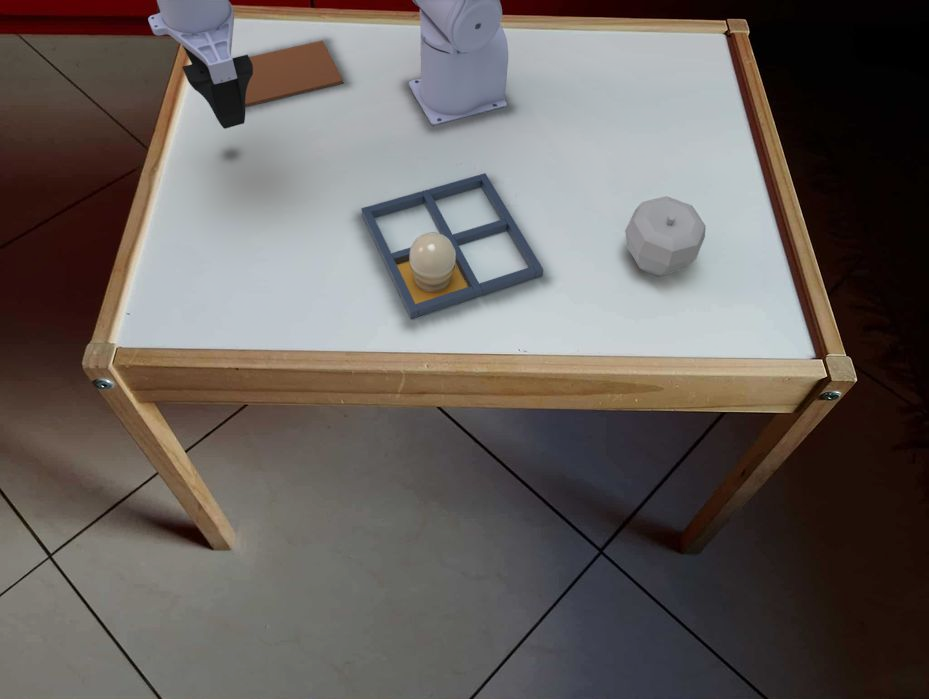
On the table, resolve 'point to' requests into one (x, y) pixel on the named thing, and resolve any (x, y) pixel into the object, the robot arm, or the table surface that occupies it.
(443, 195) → the holder
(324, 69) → the mat
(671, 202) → the apple
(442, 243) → the beige domed knob
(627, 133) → the table surface
